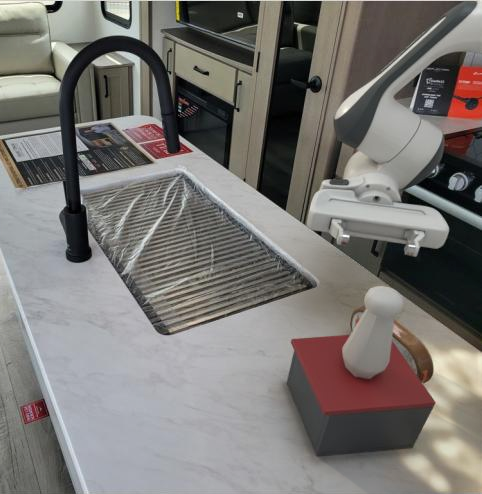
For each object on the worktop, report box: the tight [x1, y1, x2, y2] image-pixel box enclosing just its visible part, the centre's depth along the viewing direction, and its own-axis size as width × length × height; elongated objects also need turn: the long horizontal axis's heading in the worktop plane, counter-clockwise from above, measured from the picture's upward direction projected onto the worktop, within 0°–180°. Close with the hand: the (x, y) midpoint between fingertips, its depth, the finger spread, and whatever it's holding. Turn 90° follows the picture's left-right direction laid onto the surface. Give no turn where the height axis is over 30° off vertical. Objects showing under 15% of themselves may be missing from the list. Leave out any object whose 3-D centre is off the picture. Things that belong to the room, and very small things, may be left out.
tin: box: [349, 305, 435, 384], centre depth 76 cm, size 15×3×8 cm, turn 22°
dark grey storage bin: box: [286, 350, 434, 457], centre depth 67 cm, size 14×13×9 cm
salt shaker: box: [342, 285, 405, 379], centre depth 61 cm, size 6×6×13 cm
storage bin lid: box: [290, 334, 437, 416], centre depth 65 cm, size 14×13×1 cm
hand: (377, 246), depth 69 cm, fingers open, 8 cm apart
